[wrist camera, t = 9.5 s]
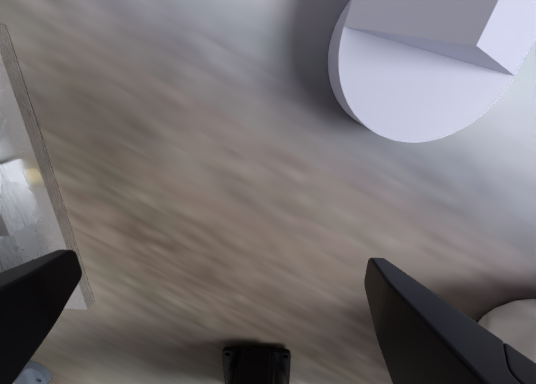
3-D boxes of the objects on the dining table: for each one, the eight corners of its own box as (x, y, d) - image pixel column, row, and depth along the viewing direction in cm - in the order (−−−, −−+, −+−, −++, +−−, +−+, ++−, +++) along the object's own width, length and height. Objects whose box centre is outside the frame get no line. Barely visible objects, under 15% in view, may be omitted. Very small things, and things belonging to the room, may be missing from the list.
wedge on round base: (391, -165, 13) (308, 111, 18) (493, -380, 7) (324, 131, 12) (564, -107, 14) (436, 145, 19) (801, -256, 7) (514, 181, 13)
